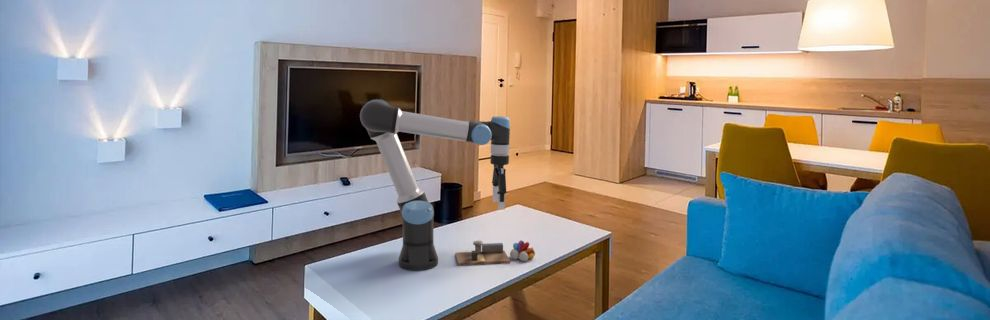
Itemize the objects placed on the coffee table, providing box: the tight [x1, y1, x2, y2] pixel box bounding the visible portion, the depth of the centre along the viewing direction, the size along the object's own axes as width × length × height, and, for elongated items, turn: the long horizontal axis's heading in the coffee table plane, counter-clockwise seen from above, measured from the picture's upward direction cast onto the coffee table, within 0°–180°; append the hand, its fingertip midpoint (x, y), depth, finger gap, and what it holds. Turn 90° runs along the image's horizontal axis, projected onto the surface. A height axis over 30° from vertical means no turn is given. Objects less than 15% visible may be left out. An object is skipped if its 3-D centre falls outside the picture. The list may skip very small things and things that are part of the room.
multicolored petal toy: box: [509, 240, 536, 262], centre depth 212 cm, size 8×10×7 cm
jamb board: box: [455, 240, 511, 267], centre depth 211 cm, size 20×13×5 cm, turn 99°
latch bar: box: [481, 242, 504, 253], centre depth 216 cm, size 8×2×3 cm, turn 99°
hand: (498, 205), depth 220 cm, fingers open, 13 cm apart
